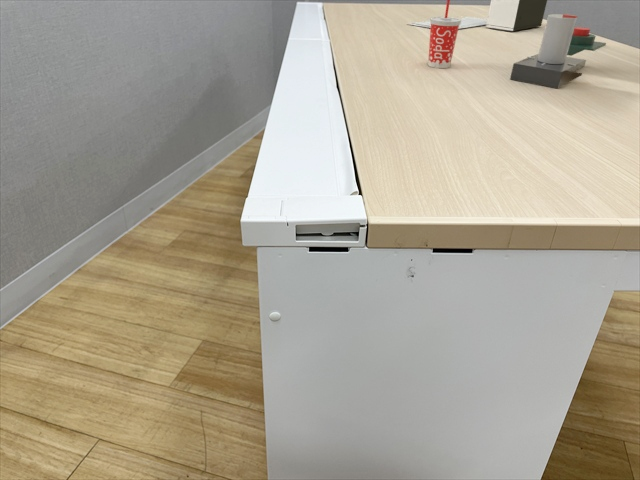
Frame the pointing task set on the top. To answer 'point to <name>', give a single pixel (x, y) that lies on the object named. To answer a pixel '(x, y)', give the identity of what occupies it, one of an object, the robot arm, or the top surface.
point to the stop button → (581, 31)
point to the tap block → (546, 71)
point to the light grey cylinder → (556, 38)
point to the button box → (583, 44)
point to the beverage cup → (442, 40)
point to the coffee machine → (506, 15)
